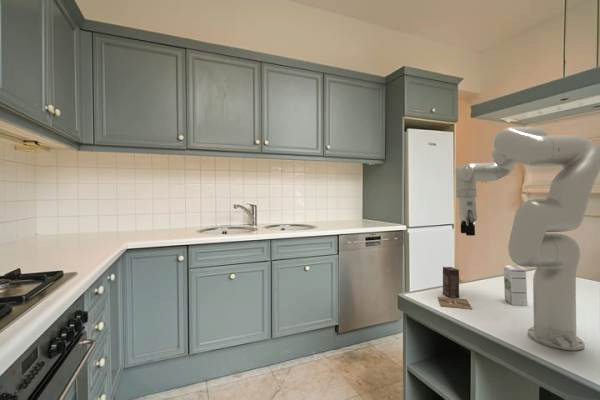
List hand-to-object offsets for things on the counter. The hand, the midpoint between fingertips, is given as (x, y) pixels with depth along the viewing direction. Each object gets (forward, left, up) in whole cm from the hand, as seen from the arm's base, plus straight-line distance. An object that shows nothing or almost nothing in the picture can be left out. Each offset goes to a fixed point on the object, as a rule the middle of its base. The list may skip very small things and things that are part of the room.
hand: (467, 234), depth 124 cm
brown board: (-10, +7, -27) cm, 30 cm away
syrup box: (-3, -16, -27) cm, 31 cm away
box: (-1, +7, -27) cm, 28 cm away
